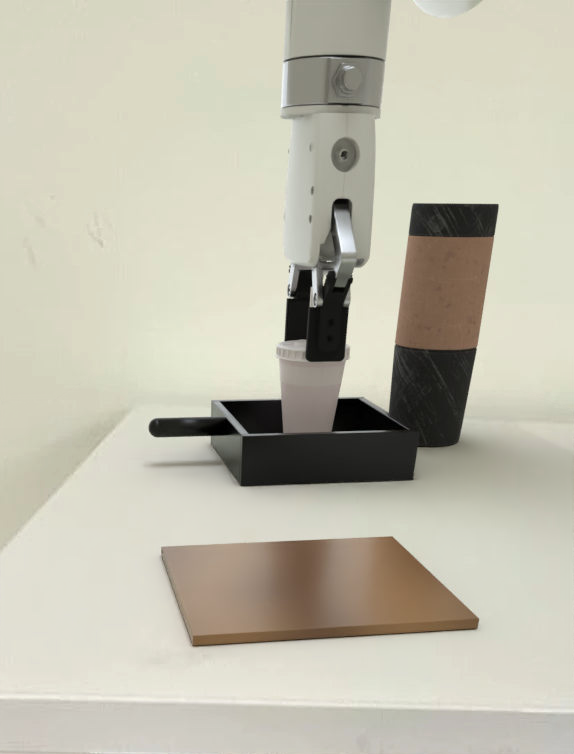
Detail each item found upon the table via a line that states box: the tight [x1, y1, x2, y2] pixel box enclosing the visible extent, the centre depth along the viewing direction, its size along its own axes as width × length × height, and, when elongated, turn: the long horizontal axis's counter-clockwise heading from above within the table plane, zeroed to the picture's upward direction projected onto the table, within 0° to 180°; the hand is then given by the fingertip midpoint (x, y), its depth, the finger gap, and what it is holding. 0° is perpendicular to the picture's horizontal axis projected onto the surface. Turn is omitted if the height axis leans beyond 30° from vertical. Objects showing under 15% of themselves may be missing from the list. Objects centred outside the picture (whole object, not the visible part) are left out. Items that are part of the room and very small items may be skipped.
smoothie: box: [275, 287, 351, 433], centre depth 75 cm, size 6×6×14 cm
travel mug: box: [388, 202, 500, 448], centre depth 81 cm, size 8×8×20 cm
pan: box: [147, 396, 420, 487], centre depth 77 cm, size 22×15×4 cm
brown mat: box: [160, 535, 480, 647], centre depth 53 cm, size 16×14×1 cm
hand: (312, 352), depth 74 cm, fingers closed on smoothie, 6 cm apart
